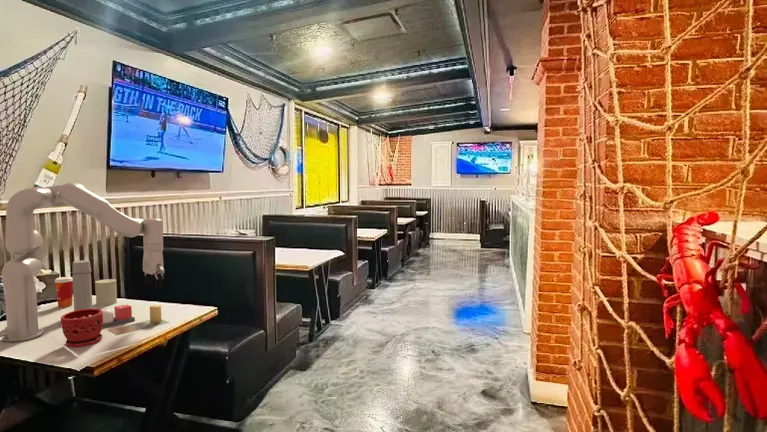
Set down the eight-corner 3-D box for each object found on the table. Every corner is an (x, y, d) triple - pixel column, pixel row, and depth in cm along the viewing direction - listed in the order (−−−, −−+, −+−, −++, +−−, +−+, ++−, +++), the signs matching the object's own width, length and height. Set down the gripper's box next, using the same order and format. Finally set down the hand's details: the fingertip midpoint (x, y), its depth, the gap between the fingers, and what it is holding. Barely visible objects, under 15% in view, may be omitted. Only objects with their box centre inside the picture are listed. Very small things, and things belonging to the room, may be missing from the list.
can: (121, 301, 227) (120, 278, 227) (105, 306, 219) (104, 282, 218) (107, 300, 230) (106, 277, 229) (91, 304, 221) (90, 281, 220)
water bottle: (92, 315, 203) (89, 262, 201) (71, 317, 199) (69, 263, 198) (95, 310, 211) (93, 259, 209) (75, 312, 208) (73, 260, 206)
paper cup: (59, 304, 221) (58, 277, 220) (77, 303, 224) (75, 276, 223) (52, 308, 214) (51, 280, 213) (71, 307, 216) (70, 279, 215)
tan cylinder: (153, 324, 189) (152, 308, 188) (148, 322, 192) (147, 306, 191) (163, 321, 192) (162, 306, 192) (158, 319, 195) (158, 304, 194)
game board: (116, 336, 175) (116, 335, 175) (107, 331, 181) (106, 329, 181) (169, 323, 192) (169, 322, 191) (159, 319, 198) (159, 318, 198)
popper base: (99, 330, 183) (98, 313, 182) (92, 326, 188) (91, 310, 187) (134, 322, 194) (134, 306, 193) (127, 318, 198) (127, 303, 198)
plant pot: (71, 339, 172) (70, 309, 171) (109, 336, 175) (108, 307, 174) (55, 351, 159) (53, 319, 159) (95, 348, 162) (94, 316, 162)
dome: (101, 328, 184) (100, 312, 184) (96, 325, 188) (95, 309, 187) (116, 324, 189) (115, 309, 188) (110, 322, 192) (110, 307, 192)
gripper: (135, 245, 192) (136, 284, 193) (153, 250, 181) (154, 291, 182) (153, 244, 198) (153, 281, 199) (171, 248, 187) (172, 288, 188)
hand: (154, 286), depth 191 cm, fingers open, 9 cm apart
